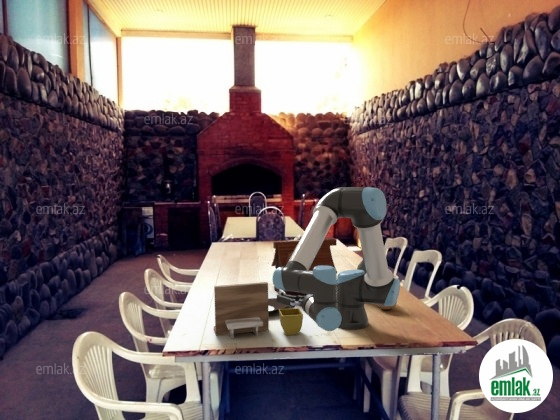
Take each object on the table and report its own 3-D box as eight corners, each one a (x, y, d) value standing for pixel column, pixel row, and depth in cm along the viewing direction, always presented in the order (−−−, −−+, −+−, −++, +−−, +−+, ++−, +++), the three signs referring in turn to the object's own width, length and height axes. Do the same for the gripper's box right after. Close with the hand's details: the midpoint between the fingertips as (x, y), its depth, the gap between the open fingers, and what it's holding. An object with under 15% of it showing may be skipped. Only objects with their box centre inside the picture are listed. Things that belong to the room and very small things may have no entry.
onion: (382, 313, 208) (382, 292, 207) (372, 307, 217) (372, 287, 216) (401, 311, 210) (401, 290, 209) (390, 305, 220) (390, 285, 219)
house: (280, 301, 228) (280, 245, 226) (268, 288, 255) (268, 237, 253) (344, 296, 236) (345, 242, 234) (326, 283, 264) (326, 235, 261)
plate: (260, 298, 236) (260, 291, 236) (303, 307, 218) (303, 300, 218) (221, 311, 214) (221, 303, 214) (265, 323, 197) (265, 315, 196)
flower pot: (303, 336, 180) (303, 314, 179) (282, 337, 179) (282, 315, 178) (299, 328, 189) (299, 307, 188) (278, 330, 187) (278, 309, 187)
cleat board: (272, 335, 181) (272, 287, 179) (218, 341, 175) (217, 291, 173) (264, 323, 195) (263, 278, 193) (213, 328, 189) (212, 282, 188)
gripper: (279, 320, 150) (265, 303, 170) (349, 314, 156) (327, 298, 176) (279, 298, 149) (265, 283, 169) (349, 293, 155) (327, 279, 176)
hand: (297, 290), depth 173 cm, fingers open, 13 cm apart
